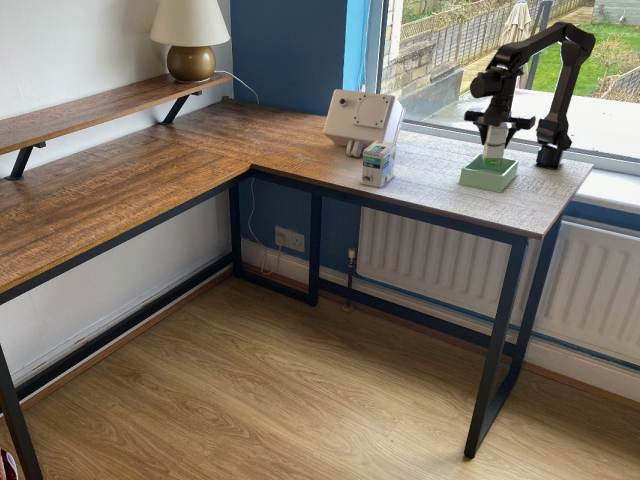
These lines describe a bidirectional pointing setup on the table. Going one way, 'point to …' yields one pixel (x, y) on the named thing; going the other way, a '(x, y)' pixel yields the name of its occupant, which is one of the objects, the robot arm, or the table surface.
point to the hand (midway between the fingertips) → (494, 146)
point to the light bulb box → (378, 163)
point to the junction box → (363, 119)
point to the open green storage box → (488, 174)
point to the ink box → (495, 145)
